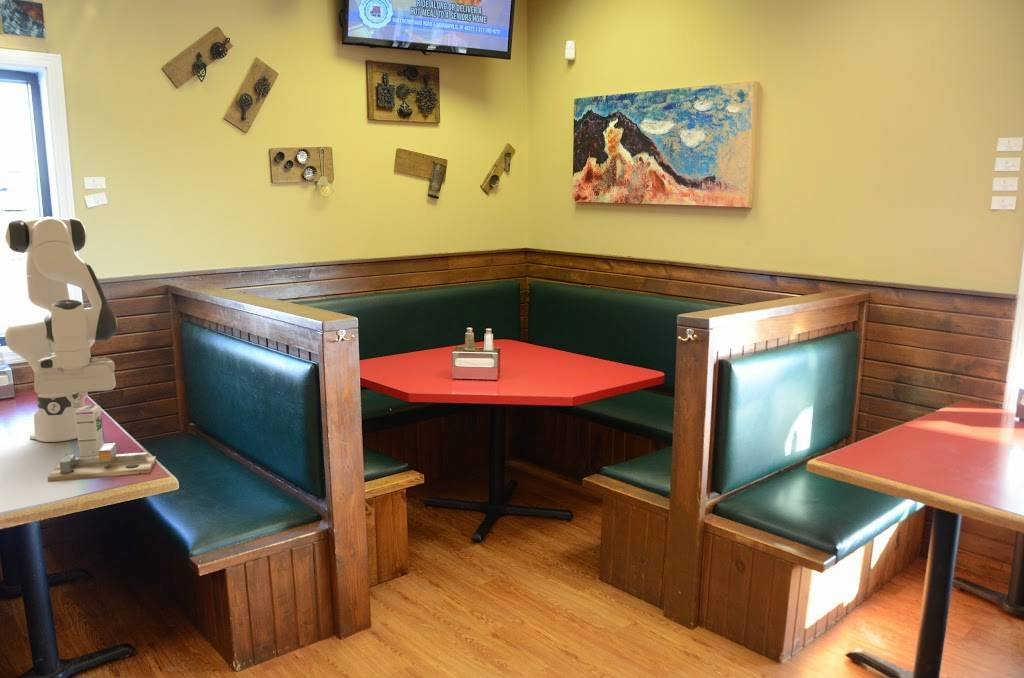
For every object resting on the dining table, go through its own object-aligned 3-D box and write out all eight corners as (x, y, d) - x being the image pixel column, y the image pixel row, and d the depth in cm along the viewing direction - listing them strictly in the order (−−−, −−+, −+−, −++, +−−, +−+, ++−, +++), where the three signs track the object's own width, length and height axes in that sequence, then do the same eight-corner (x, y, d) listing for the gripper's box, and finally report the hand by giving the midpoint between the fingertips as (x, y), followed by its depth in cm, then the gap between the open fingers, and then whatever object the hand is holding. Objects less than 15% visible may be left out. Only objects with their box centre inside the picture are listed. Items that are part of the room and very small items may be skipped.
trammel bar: (65, 465, 236) (64, 454, 235) (147, 458, 241) (146, 447, 241) (57, 474, 228) (56, 462, 228) (142, 467, 234) (141, 456, 233)
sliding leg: (105, 462, 238) (104, 443, 237) (117, 461, 238) (115, 442, 237) (100, 469, 231) (98, 451, 230) (112, 468, 232) (110, 450, 231)
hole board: (59, 467, 238) (59, 463, 237) (156, 459, 244) (155, 456, 244) (47, 481, 226) (47, 477, 226) (149, 472, 233) (148, 468, 232)
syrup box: (99, 455, 248) (95, 409, 246) (78, 457, 247) (73, 410, 245) (105, 450, 254) (101, 404, 251) (85, 451, 253) (80, 405, 250)
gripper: (116, 354, 233) (120, 402, 236) (36, 358, 228) (41, 407, 231) (111, 359, 227) (115, 407, 230) (29, 363, 222) (34, 412, 225)
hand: (78, 407), depth 230 cm, fingers closed
